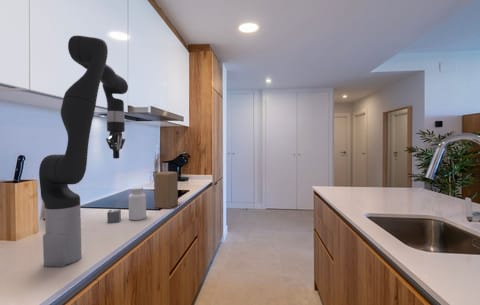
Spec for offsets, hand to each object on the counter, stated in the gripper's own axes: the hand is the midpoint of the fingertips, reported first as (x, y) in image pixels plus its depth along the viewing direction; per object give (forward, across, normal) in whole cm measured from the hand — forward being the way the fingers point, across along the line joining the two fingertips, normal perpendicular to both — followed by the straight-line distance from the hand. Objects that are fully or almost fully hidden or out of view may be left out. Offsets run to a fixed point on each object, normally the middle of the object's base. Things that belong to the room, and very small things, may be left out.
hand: (116, 158), depth 123 cm
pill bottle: (+30, +5, -8) cm, 31 cm away
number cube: (+30, 0, +1) cm, 30 cm away
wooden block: (+30, +29, -14) cm, 44 cm away
